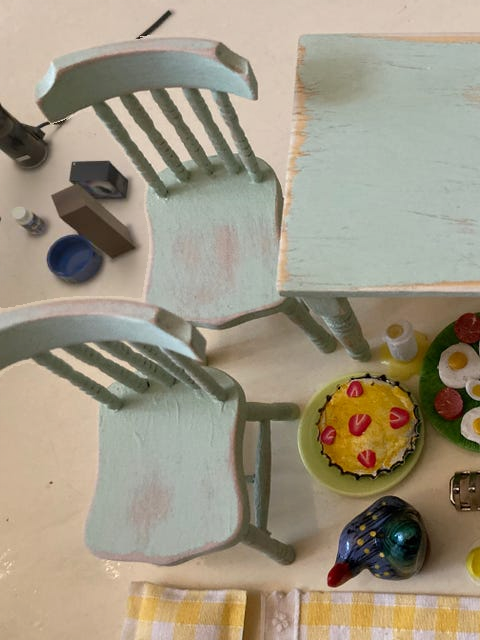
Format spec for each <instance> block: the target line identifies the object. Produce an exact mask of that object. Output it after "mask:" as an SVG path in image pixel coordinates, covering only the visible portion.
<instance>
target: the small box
mask: <svg viewBox="0 0 480 640" xmlns="http://www.w3.org/2000/svg"><path fill="white" fill-rule="evenodd" d="M68 182H69V183H70V184H72V185H75V184H77V183H78V184H79V185H80V186H81V187H82V188H83V189H84V190H86V191H87V192H88V193H89V194H90V195H91V196H92V197H93V198H95V199H96V200H114V199H115V200H116V199H117V200H119V199H126V198H127V193H128V187H129V179H128V178H126V176H124V174H122V172H121V171H119V169H117V167H115V166H114V165H113V163H112V162H111V160H82V161H81V160H80V161H71V163H70V172H69V179H68Z"/></svg>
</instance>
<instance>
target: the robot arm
mask: <svg viewBox="0 0 480 640" xmlns="http://www.w3.org/2000/svg"><path fill="white" fill-rule="evenodd" d="M171 13H172V12H171V11H170V9H168V10H167V11H166V12H164V13H163V14H162V15H161V16H160V17H159V18H158V19H157V20H156V21H155V22H154V23H153V24H152V25H150V26H149V27H148V28H147V29H146V30H144V31H143V32H142V33H141V34H139V35H138V36H137V37H135V39H140V38H142V39H143V38H144V37H146V36H147V35H149V33H151V32H152V31H153V30H154V29H155V28H156V27H158V26H159V25H160V24H161V23H162V22H163V21H164V20H165V19H166V18H167V17H168V16H169V15H170V14H171ZM140 36H144V37H140ZM140 40H141V39H140ZM68 119H69V117H68V118H67V119H65V120H63V121H60V120H59V121H60V122H57V121H56V122H57V123H54V124H52V125H55V126H59V125H62V124H64V123H65V122H66V121H67V120H68ZM48 121H49V120H48ZM48 121H44V122H41V123H40V124H38V125H36V126H34V125H31V124H30V125H29V124H26V123H23V122H21V121H19V120H18V119H17V118H16V117H15V116H14V115H13V114H12V113H10V112H9V111H8V110H7V109H6V108H5V107H4V106H3V105H2V103H1V102H0V151H1V152H3V153H4V155H6V156H7V157H9V158H10V159H11V160H12V161H14V163H16V164H17V165H18V167H20V168H22V169H26V170H31V169H35V168H38V167H39V166H41V165H42V164H44V162H45V161H46V159H47V157H48V153H49V152H48V151H49V150H48V142H47V141H46V140H44V138H45V137H46V133H45V132H44V131H43V130H42V129H43V128H45V127H47V126H49V125H51V124H50V123H49V122H48ZM1 221H2V217H1V216H0V222H1Z"/></svg>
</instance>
